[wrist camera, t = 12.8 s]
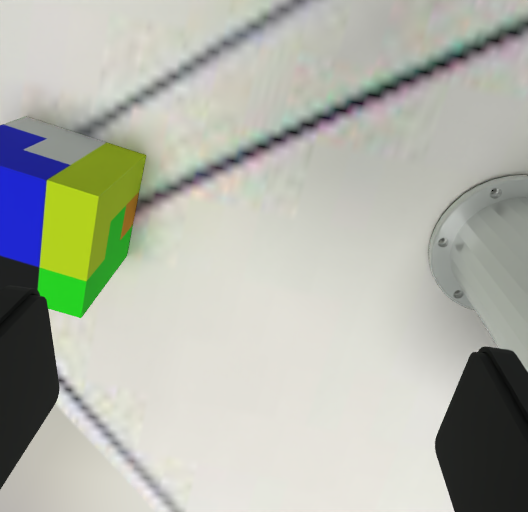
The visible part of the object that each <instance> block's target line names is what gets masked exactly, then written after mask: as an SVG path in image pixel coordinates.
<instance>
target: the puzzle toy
mask: <svg viewBox="0 0 528 512" xmlns="http://www.w3.org/2000/svg"><path fill="white" fill-rule="evenodd" d="M145 159H146V155H144V154H141V153H138V152H135V151H131V150H128V149H125V148H122V147H119V146H116V145H113V144H110V143H107V142H104V141H101V140H98V139H95V138H91V137H88V136H85V135H82V134H79V133H76V132H73V131H70V130H67V129H64V128H61V127H58V126H55V125H51V124H48V123H45V122H42V121H39V120H36V119H33V118H30V117H27V116H26V117H23V118H20V119H17V120H14V121H12V122H9V123H6V124H3V125H0V291H1V290H2V289H3V288H5V287H6V286H10V285H11V286H19V287H27V288H35V289H37V290H38V291H39V293H40V296H43V297H45V298H46V300H47V305H48V309H52V310H55V311H59V312H62V313H66V314H69V315H72V316H76V317H79V318H81V317H82V316H83V315H84V313H85V312H86V311H87V309H88V308H89V307H90V305H91V304H92V303H93V301H94V300H95V298H96V297H97V296H98V294H99V293H100V292H101V290H102V289H103V288H104V286H105V285H106V284H107V282H108V281H109V279H110V278H111V277H112V275H113V274H114V273H115V271H116V270H117V269H118V267H119V266H120V265H121V263H122V262H123V260H124V259H125V258H126V256H127V253H128V248H129V242H130V237H131V232H132V227H133V221H134V216H135V211H136V206H137V201H138V195H139V190H140V185H141V180H142V174H143V169H144V164H145Z"/></svg>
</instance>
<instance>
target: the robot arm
mask: <svg viewBox="0 0 528 512" xmlns="http://www.w3.org/2000/svg"><path fill="white" fill-rule="evenodd" d="M494 188H495V189H494ZM493 189H494V191H493V192H491V191H492V190H493ZM442 238H443V239H442ZM440 239H442V240H440ZM428 253H429V265H430V268H431V271H432V275H433V277H434V278H435V280H436V282H437V284H438V286H439V287H440V288H441V290H442V291H443V292H444V294H445V295H447V296H448V297H449V298H450V299H451V300H453V301H454V302H456V303H458V304H460V305H462V306H464V307H466V308H470V309H473V310H475V311H476V312H477V314H478V315H479V317H480V319H481V320H482V322H483V324H484V325H485V327H486V328H487V330H488V332H489V333H490V335H491V337H492V338H493V340H494V341H495V343H496V345H497V346H498V348H492V347H482V348H481V349H480V350H479V351H478V352H473V353H472V354H471V355H470V357H469V359H468V362H467V364H466V366H465V369H464V371H463V374H462V376H461V378H460V381H459V383H458V386H457V388H456V390H455V393H454V395H453V398H452V400H451V402H450V405H449V407H448V410H447V412H446V414H445V417H444V419H443V422H442V424H441V426H440V429H439V431H438V434H437V436H436V441H435V450H436V455H437V458H438V461H439V464H440V467H441V470H442V474H443V477H444V480H445V483H446V486H447V489H448V492H449V495H450V498H451V502H452V505H453V508H454V511H455V512H528V175H516V176H507V177H502V178H498V179H493V180H491V181H488V182H486V183H483V184H481V185H478V186H477V187H475V188H473V189H472V190H470V191H468V192H467V193H465V194H464V195H462V196H461V197H460V198H459V199H458V200H456V201H455V202H454V203H453V204H452V205H451V206H450V207H449V208H448V209H447V211H446V212H445V213H444V214H443V215H442V217H441V218H440V220H439V222H438V223H437V225H436V227H435V229H434V231H433V234H432V237H431V240H430V245H429V252H428ZM58 394H59V381H58V374H57V367H56V360H55V353H54V346H53V340H52V333H51V326H50V319H49V312H48V305H47V300H46V298H45V297H43V296H40V293H39V291H38V290H37V289H35V288H27V287H19V286H11V285H10V286H6V287H5V288H3V289H2V290H1V291H0V489H1V487H2V486H3V484H4V483H5V481H6V480H7V478H8V476H9V475H10V473H11V472H12V470H13V469H14V467H15V466H16V464H17V462H18V461H19V459H20V458H21V456H22V455H23V453H24V452H25V450H26V448H27V447H28V445H29V443H30V442H31V441H32V439H33V437H34V436H35V434H36V433H37V431H38V430H39V428H40V427H41V425H42V423H43V422H44V420H45V419H46V417H47V416H48V414H49V412H50V411H51V409H52V408H53V406H54V405H55V403H56V401H57V398H58Z"/></svg>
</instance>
